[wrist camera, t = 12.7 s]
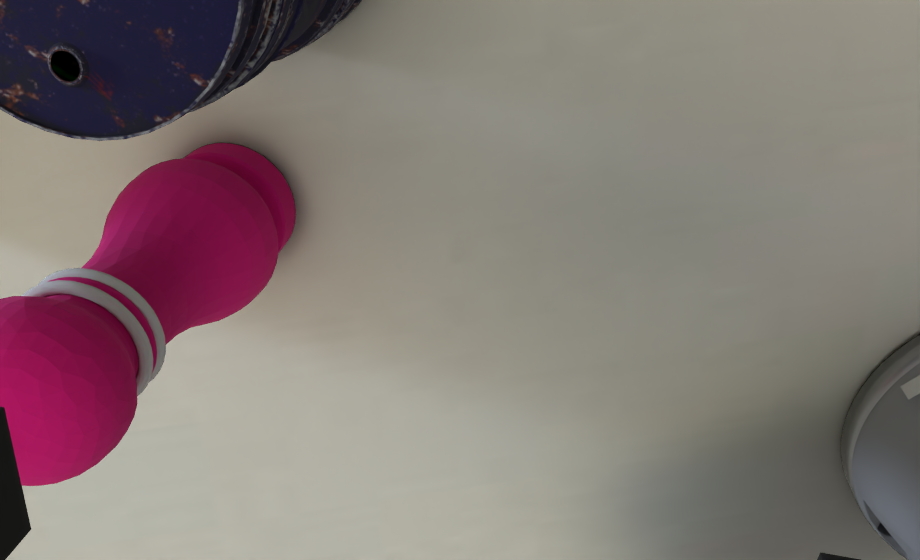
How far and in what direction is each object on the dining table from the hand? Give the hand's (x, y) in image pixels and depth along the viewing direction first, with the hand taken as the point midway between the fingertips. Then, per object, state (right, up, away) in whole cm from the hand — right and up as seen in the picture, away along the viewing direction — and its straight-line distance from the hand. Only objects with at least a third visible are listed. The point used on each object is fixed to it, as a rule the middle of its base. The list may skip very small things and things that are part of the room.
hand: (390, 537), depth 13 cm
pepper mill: (-10, +8, +26) cm, 29 cm away
